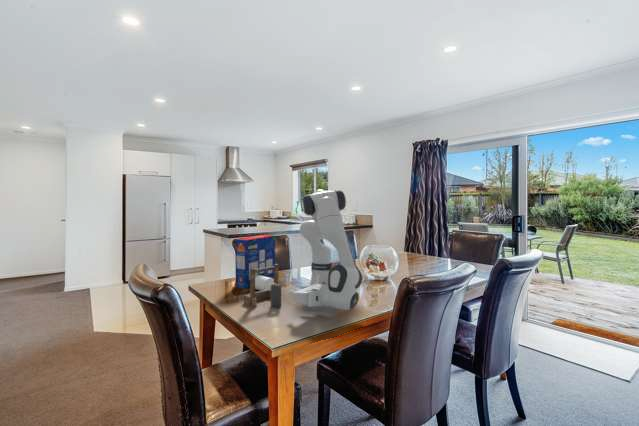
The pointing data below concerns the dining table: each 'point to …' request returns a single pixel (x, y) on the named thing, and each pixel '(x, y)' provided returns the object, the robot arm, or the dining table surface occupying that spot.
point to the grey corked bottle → (275, 295)
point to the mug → (263, 282)
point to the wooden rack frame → (256, 296)
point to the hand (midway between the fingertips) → (296, 289)
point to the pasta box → (253, 257)
